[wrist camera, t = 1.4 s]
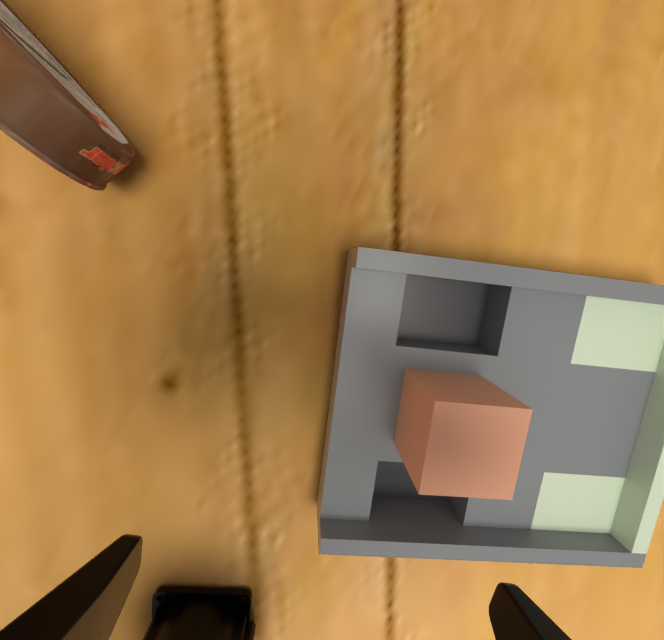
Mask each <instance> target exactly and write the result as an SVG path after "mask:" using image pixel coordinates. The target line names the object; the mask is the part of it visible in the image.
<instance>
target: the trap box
mask: <svg viewBox="0 0 664 640" xmlns="http://www.w3.org/2000/svg"><path fill="white" fill-rule="evenodd" d="M405 369H415V370H425V371H436V372H446V373H457V374H467V375H478V376H482V377H484V378H485V379H487V380H488V381H490V382H491V383H493V384H495V385H496V386H498V387H499V388H501V389H502V390H504V391H505V392H507V393H508V394H510V395H511V396H513V397H514V398H516V399H518V400H519V401H521V402H522V403H524V404H525V405H527V406H528V407H530V408H531V409H533V411H532V415H531V419H530V424H529V428H528V433H527V437H526V441H525V446H524V450H523V455H522V459H521V463H520V468H519V472H518V477H517V481H516V485H515V490H514V494H513V499H512V500H503V499H486V498H470V497H453V496H437V495H420V494H418V492H417V490H416V488H415V486H414V484H413V482H412V479H411V477H410V475H409V473H408V471H407V469H406V467H405V465H404V463H403V461H402V459H401V456H400V454H399V452H398V450H397V448H396V446H395V444H394V437H395V430H396V424H397V418H398V412H399V405H400V399H401V393H402V387H403V380H404V374H405ZM663 499H664V285H656V284H649V283H641V282H633V281H625V280H617V279H609V278H601V277H593V276H586V275H578V274H570V273H562V272H554V271H546V270H538V269H531V268H523V267H515V266H507V265H499V264H491V263H483V262H475V261H468V260H460V259H452V258H444V257H436V256H428V255H420V254H412V253H405V252H397V251H389V250H381V249H373V248H365V247H356V248H353V249H350V250H349V251H348V259H347V267H346V275H345V283H344V291H343V299H342V307H341V315H340V323H339V331H338V339H337V347H336V355H335V363H334V371H333V379H332V387H331V395H330V403H329V411H328V419H327V427H326V435H325V443H324V451H323V459H322V467H321V475H320V483H319V491H318V499H317V519H318V545H319V554H329V555H352V556H375V557H399V558H422V559H445V560H469V561H492V562H515V563H539V564H562V565H585V566H609V567H632V568H642V567H643V564H644V560H645V557H646V554H647V551H648V547H649V544H650V541H651V538H652V534H653V531H654V528H655V525H656V521H657V518H658V515H659V512H660V508H661V505H662V502H663Z"/></svg>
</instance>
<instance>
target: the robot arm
mask: <svg viewBox="0 0 664 640" xmlns="http://www.w3.org/2000/svg"><path fill="white" fill-rule="evenodd" d="M141 552H142V537H141V536H138V535H130V534H125V535H123V536H121V537H120V538H118V539H117V540H116V541H114V542H113V543H112V544H111V545H109V546H108V547H107V548H105V549H104V550H103V551H102V552H100V553H99V554H98V555H97V556H95V557H94V558H93V559H91V560H90V561H89V562H88V563H86V564H85V565H84V566H82V567H81V568H80V569H79V570H77V571H76V572H75V573H73V574H72V575H71V576H70V577H68V578H67V579H66V580H65V581H63V582H62V583H61V584H59V585H58V586H57V587H56V588H54V589H53V590H52V591H50V592H49V593H48V594H47V595H45V596H44V597H43V598H42V599H40V600H39V601H38V602H36V603H35V604H34V605H33V606H31V607H30V608H29V609H27V610H26V611H25V612H24V613H22V614H21V615H20V616H19V617H17V618H16V619H15V620H13V621H12V622H11V623H10V624H8V625H7V626H6V627H4V628H3V629H2V630H1V631H0V640H109V637H110V635H111V633H112V631H113V628H114V626H115V624H116V621H117V619H118V617H119V615H120V612H121V610H122V608H123V606H124V603H125V601H126V599H127V596H128V594H129V592H130V590H131V587H132V585H133V583H134V581H135V578H136V576H137V574H138V571H139V567H140V563H141ZM251 600H252V593H251V592H250V591H249V590H247V589H224V588H194V587H159V588H157V589H156V591H155V593H154V595H153V599H152V620H151V623H150V625H149V627H148V630H147V632H146V634H145V636H144V639H143V640H254V635H255V625H256V624H255V623H254V621H253V620H250V611H251ZM489 616H490V621H491V624H492V628H493V631H494V635H495V639H496V640H571V639H570V638H569V637H568V636H567V635H566V634H565V633H564V632H563V631H562V630H561V629H560V628H559V627H558V626H557V625H556V624H555V623H554V622H553V621H552V620H551V619H550V618H549V617H548V616H547V615H546V614H545V613H544V612H543V611H542V610H541V609H540V608H539V607H538V606H537V605H536V604H535V603H534V602H533V601H532V600H531V599H530V598H529V597H528V596H527V595H526V594H525V593H524V592H523V591H522V590H521V589H520V588H519V587H518V586H516V585H514V584H510V583H499V584H498V585H497V587H496V590H495V592H494V594H493V597H492V599H491V602H490V605H489Z"/></svg>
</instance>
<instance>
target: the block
mask: <svg viewBox="0 0 664 640" xmlns="http://www.w3.org/2000/svg"><path fill="white" fill-rule="evenodd" d="M532 411H533V409H531V408H530V407H528V406H527V405H525V404H524V403H522V402H521V401H519V400H518V399H516V398H514V397H513V396H511V395H510V394H508V393H507V392H505V391H504V390H502V389H501V388H499V387H498V386H496V385H495V384H493V383H491V382H490V381H488V380H487V379H485V378H484V377H482V376H478V375H467V374H457V373H446V372H436V371H425V370H415V369H405V374H404V380H403V387H402V393H401V399H400V405H399V412H398V418H397V424H396V430H395V437H394V444H395V446H396V448H397V450H398V452H399V454H400V456H401V459H402V461H403V463H404V465H405V467H406V469H407V471H408V473H409V475H410V477H411V479H412V482H413V484H414V486H415V488H416V490H417V492H418V494H420V495H437V496H453V497H470V498H486V499H503V500H512V499H513V494H514V490H515V485H516V481H517V477H518V472H519V468H520V463H521V459H522V455H523V450H524V446H525V441H526V437H527V433H528V428H529V424H530V419H531V415H532Z"/></svg>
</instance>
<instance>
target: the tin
mask: <svg viewBox="0 0 664 640" xmlns="http://www.w3.org/2000/svg"><path fill="white" fill-rule="evenodd" d="M0 130H2V131H3V132H4V133H5V134H6V135H8V136H9V137H11V138H12V139H13V140H15V141H16V142H17V143H19V144H20V145H21V146H23V147H24V148H25V149H27V150H28V151H30V152H31V153H33V154H34V155H36V156H37V157H39V158H40V159H41V160H43V161H44V162H46V163H47V164H49V165H50V166H52V167H53V168H55V169H56V170H58V171H60V172H61V173H63V174H65V175H66V176H68V177H70V178H71V179H73V180H75V181H77V182H78V183H80V184H82V185H85V186H87V187H89V188H91V189H94V190H104V189H105V188H106V186H107V183H108V182H110V181H111V180H112V179H113V178H114V177H115V176H116V175H117V174H119V173H120V172H121V171H122V170H123V169H124V168H125V167H126V166H128V165H129V164H130V163H131V161H132V160H133V159H134V157H135V154H136V152H135V149H134V147H133V145H132V144H131V142H130V141H129V140H128V138H127V137H126V136H125V135H124V133H123V132H122V131H121V130H120V129H119V128H118V127H117V125H116V124H115V123H114V122H113V121H112V120H111V119H110V117H109V116H108V115H107V114H106V113H105V112H104V111H103V110H102V109H101V107H100V106H99V105H98V104H97V103H96V102H95V101H94V100H93V99H92V98H91V96H90V95H89V94H88V93H87V92H86V91H85V90H84V89H83V87H82V86H81V85H80V84H79V83H78V82H77V81H76V80H75V78H74V77H73V76H72V75H71V74H70V73H69V72H68V71H67V69H66V68H65V67H64V66H63V65H62V64H61V63H60V62H59V61H58V59H57V58H56V57H55V56H54V55H53V54H52V53H51V52H50V51H49V50H48V48H47V47H46V46H45V45H44V44H43V43H42V42H41V41H40V40H39V39H38V38H37V37H36V35H35V34H34V33H33V32H32V31H31V30H30V29H29V28H28V27H27V26H26V25H25V24H24V23H23V21H22V20H21V19H20V18H19V17H18V16H17V15H16V14H15V13H14V12H13V11H12V10H11V9H10V8H9V7H8V6H7V4H6V3H5V2H4V1H3V0H0Z"/></svg>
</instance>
